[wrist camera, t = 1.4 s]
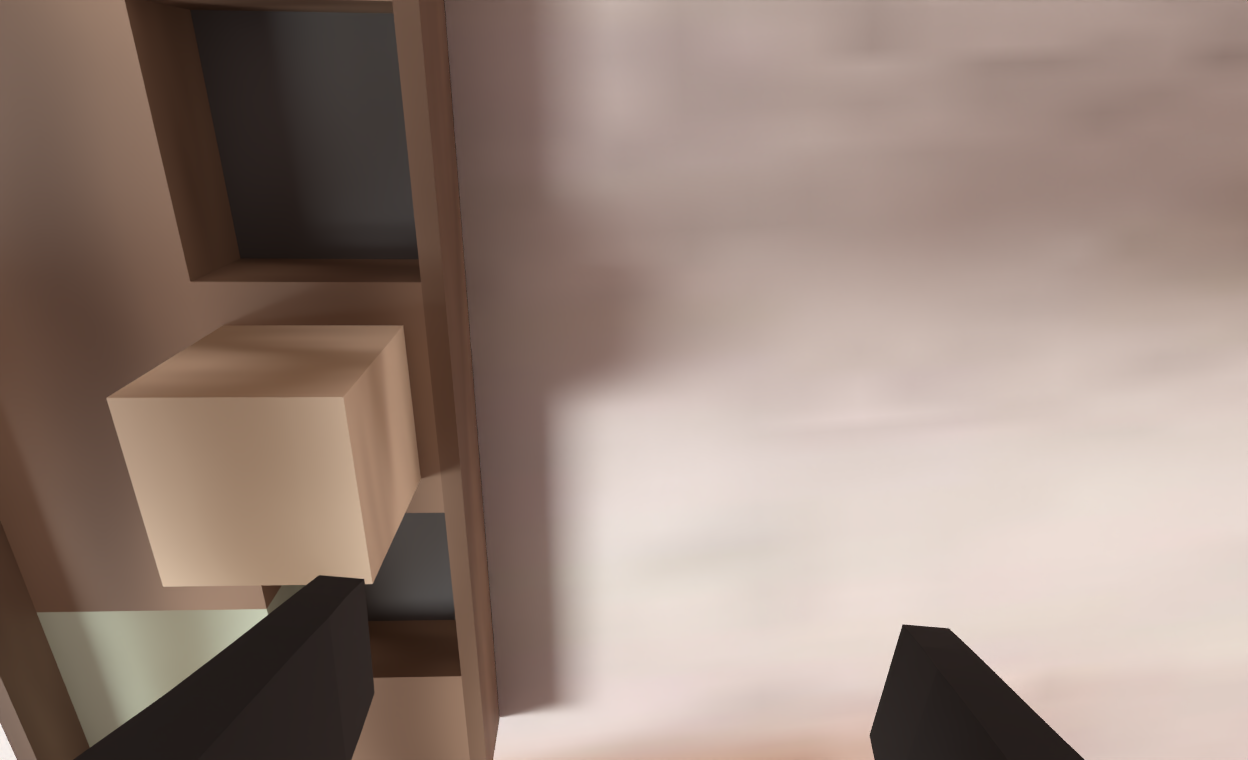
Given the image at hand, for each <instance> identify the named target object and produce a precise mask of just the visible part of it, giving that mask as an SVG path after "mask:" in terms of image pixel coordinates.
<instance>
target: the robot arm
mask: <svg viewBox="0 0 1248 760" xmlns="http://www.w3.org/2000/svg"><path fill="white" fill-rule="evenodd" d="M374 693H375V692H374V681H373V670H372V659H371V648H370V637H369V626H368V614H367V603H366V592H365V581H364V579H360V578H348V577H336V576H324V575H319V576H317V577H316V578H315V579H313V580H312V581H311V582H309V583H308V584H307V585H305V586H304V587H303V588H302V589H300V590H299V591H298V592H296V593H295V594H294V595H293V596H291V597H290V598H289V599H287V600H286V601H285V602H284V603H282V604H281V605H280V606H279V607H277V608H276V609H275V610H273V611H272V612H271V613H270V614H268V615H267V616H266V617H265V618H263V619H262V620H261V621H259V622H258V623H257V624H256V625H254V626H253V627H252V628H251V629H249V630H248V631H247V632H245V633H244V634H243V635H242V636H240V637H239V638H238V639H237V640H235V641H234V642H233V643H231V644H230V645H229V646H228V647H226V648H225V649H224V650H223V651H221V652H220V653H219V654H217V655H216V656H215V657H213V658H212V659H211V660H209V661H208V662H207V663H205V664H204V665H203V666H202V667H200V668H199V669H198V670H196V671H195V672H194V673H192V674H191V675H190V676H188V677H187V678H186V679H184V680H183V681H182V682H181V683H179V684H178V685H177V686H175V687H174V688H173V689H171V690H170V691H169V692H167V693H166V694H165V695H163V696H162V697H161V698H159V699H158V700H156V701H155V702H154V703H152V704H151V705H149V706H148V707H146V708H145V709H144V710H142V711H141V712H139V713H138V714H137V715H135V716H134V717H132V718H131V719H130V720H128V721H127V722H125V723H124V724H123V725H121V726H120V727H118V728H117V729H115V730H114V731H113V732H111V733H110V734H108V735H107V736H106V737H104V738H103V739H101V740H100V741H99V742H97V743H96V744H94V745H93V746H92V747H90V748H89V749H87V750H86V751H84V752H83V753H82V754H80V755H79V756H77V757H76V758H75V759H73V760H351V759H352V757H353V754H354V751H355V748H356V746H357V743H358V740H359V737H360V735H361V732H362V729H363V726H364V723H365V720H366V717H367V714H368V711H369V708H370V705H371V702H372V699H373V696H374ZM870 739H871V744H872V749H873V754H874V759H875V760H1084V759H1083V758H1082V757H1081V756H1080V755H1079V754H1078V753H1077V752H1076V751H1075V750H1074V749H1073V748H1072V747H1071V746H1070V745H1069V744H1067V743H1066V742H1065V741H1064V740H1063V739H1062V738H1061V737H1060V736H1059V735H1058V734H1057V733H1056V732H1055V731H1054V730H1053V729H1052V728H1051V727H1050V726H1049V725H1048V724H1047V723H1046V722H1045V721H1044V720H1043V719H1042V718H1041V717H1040V716H1039V715H1038V714H1037V713H1035V712H1034V711H1033V710H1032V709H1031V708H1030V707H1029V706H1028V705H1027V704H1026V703H1025V702H1024V701H1023V700H1022V699H1021V698H1020V697H1019V696H1018V695H1017V694H1016V693H1015V692H1014V691H1013V690H1012V689H1011V688H1010V687H1009V686H1008V685H1007V684H1006V683H1005V682H1004V681H1003V680H1002V679H1001V678H1000V677H999V676H998V675H997V674H996V673H995V672H994V671H993V670H992V669H991V668H990V667H989V666H988V665H987V664H986V663H985V662H984V661H983V660H982V659H980V658H979V657H978V656H977V655H976V654H975V653H974V652H973V651H972V650H971V649H970V648H969V647H968V646H967V645H966V644H965V643H964V642H963V641H962V640H961V639H960V638H958V637H957V636H956V635H955V634H954V633H953V632H952V631H951V630H950V629H949V628H937V627H925V626H914V625H902V629H901V632H900V635H899V639H898V642H897V645H896V649H895V652H894V655H893V659H892V662H891V666H890V669H889V672H888V676H887V679H886V682H885V686H884V689H883V692H882V696H881V699H880V702H879V706H878V709H877V712H876V716H875V719H874V722H873V726H872V729H871V733H870Z"/></svg>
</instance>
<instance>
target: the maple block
mask: <svg viewBox="0 0 1248 760" xmlns="http://www.w3.org/2000/svg"><path fill="white" fill-rule="evenodd" d="M106 399H107V402H108V405H109V409H110V412H111V415H112V419H113V422H114V425H115V429H116V432H117V435H118V439H119V442H120V445H121V448H122V452H123V455H124V458H125V462H126V465H127V468H128V472H129V475H130V478H131V482H132V485H133V488H134V492H135V495H136V498H137V502H138V505H139V508H140V512H141V515H142V518H143V522H144V525H145V528H146V532H147V535H148V538H149V542H150V545H151V548H152V551H153V555H154V558H155V561H156V565H157V568H158V571H159V575H160V578H161V581H162V585H163V587H182V586H259V585H307V584H308V583H309V582H311V581H312V580H313V579H315V578H316V577H317V576H319V575H324V576H336V577H348V578H360V579H364V581H365V584H373V582H374V580H375V578H376V576H377V573H378V571H379V569H380V567H381V565H382V562H383V560H384V558H385V556H386V554H387V552H388V549H389V547H390V545H391V543H392V541H393V538H394V536H395V534H396V532H397V530H398V527H399V525H400V523H401V521H402V519H403V517H404V514H405V512H406V510H407V508H408V506H409V503H410V501H411V499H412V497H413V495H414V493H415V490H416V488H417V486H418V484H419V482H420V479H421V475H420V467H419V458H418V449H417V441H416V432H415V423H414V415H413V406H412V397H411V389H410V380H409V371H408V363H407V354H406V345H405V337H404V328H403V326H397V325H223V326H221V327H220V328H218V329H216V330H215V331H213V332H212V333H210V334H208V335H207V336H205V337H204V338H202V339H200V340H199V341H197V342H195V343H194V344H192V345H191V346H189V347H187V348H186V349H184V350H183V351H181V352H179V353H178V354H176V355H175V356H173V357H171V358H170V359H168V360H166V361H165V362H163V363H162V364H160V365H158V366H157V367H155V368H154V369H152V370H150V371H149V372H147V373H145V374H144V375H142V376H141V377H139V378H137V379H136V380H134V381H133V382H131V383H129V384H128V385H126V386H125V387H123V388H121V389H120V390H118V391H116V392H115V393H113V394H112V395H110V396H108V397H107V398H106Z"/></svg>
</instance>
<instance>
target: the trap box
mask: <svg viewBox="0 0 1248 760" xmlns="http://www.w3.org/2000/svg"><path fill="white" fill-rule="evenodd" d="M223 325H397V326H403V328H404V337H405V345H406V354H407V363H408V371H409V380H410V389H411V397H412V406H413V415H414V423H415V432H416V441H417V449H418V458H419V467H420V475H421V479H420V482H419V484H418V486H417V488H416V490H415V493H414V495H413V497H412V499H411V501H410V503H409V506H408V508H407V510H406V512H405V514H404V517H403V519H402V521H401V523H400V525H399V527H398V530H397V532H396V534H395V536H394V538H393V541H392V543H391V545H390V547H389V549H388V552H387V554H386V556H385V558H384V560H383V562H382V565H381V567H380V569H379V571H378V573H377V576H376V578H375V580H374V582H373V584H365V592H366V603H367V614H368V626H369V637H370V648H371V659H372V670H373V681H374V692H375V693H374V696H373V699H372V702H371V705H370V708H369V711H368V714H367V717H366V720H365V723H364V726H363V729H362V732H361V735H360V737H359V740H358V743H357V746H356V748H355V751H354V754H353V757H352V759H351V760H493V756H494V750H495V743H496V737H497V731H498V724H499V707H498V694H497V681H496V668H495V655H494V642H493V629H492V616H491V603H490V590H489V577H488V564H487V551H486V538H485V525H484V512H483V499H482V486H481V473H480V460H479V447H478V434H477V421H476V408H475V395H474V382H473V369H472V356H471V343H470V330H469V317H468V304H467V291H466V278H465V265H464V252H463V239H462V226H461V213H460V200H459V187H458V174H457V161H456V148H455V135H454V122H453V109H452V96H451V83H450V70H449V57H448V44H447V31H446V18H445V5H444V0H0V723H1V725H2V727H3V730H4V732H5V734H6V736H7V738H8V741H9V743H10V745H11V747H12V749H13V752H14V754H15V756H16V758H17V760H73V759H75V758H76V757H77V756H79V755H80V754H82V753H83V752H84V751H86V750H87V749H89V748H90V747H92V746H93V745H94V744H96V743H97V742H99V741H100V740H101V739H103V738H104V737H106V736H107V735H108V734H110V733H111V732H113V731H114V730H115V729H117V728H118V727H120V726H121V725H123V724H124V723H125V722H127V721H128V720H130V719H131V718H132V717H134V716H135V715H137V714H138V713H139V712H141V711H142V710H144V709H145V708H146V707H148V706H149V705H151V704H152V703H154V702H155V701H156V700H158V699H159V698H161V697H162V696H163V695H165V694H166V693H167V692H169V691H170V690H171V689H173V688H174V687H175V686H177V685H178V684H179V683H181V682H182V681H183V680H184V679H186V678H187V677H188V676H190V675H191V674H192V673H194V672H195V671H196V670H198V669H199V668H200V667H202V666H203V665H204V664H205V663H207V662H208V661H209V660H211V659H212V658H213V657H215V656H216V655H217V654H219V653H220V652H221V651H223V650H224V649H225V648H226V647H228V646H229V645H230V644H231V643H233V642H234V641H235V640H237V639H238V638H239V637H240V636H242V635H243V634H244V633H245V632H247V631H248V630H249V629H251V628H252V627H253V626H254V625H256V624H257V623H258V622H259V621H261V620H262V619H263V618H265V617H266V616H267V615H268V614H270V613H271V612H272V611H273V610H275V609H276V608H277V607H279V606H280V605H281V604H282V603H284V602H285V601H286V600H287V599H289V598H290V597H291V596H293V595H294V594H295V593H296V592H298V591H299V590H300V589H302V588H303V587H304V586H305V585H259V586H182V587H163V585H162V581H161V578H160V575H159V571H158V568H157V565H156V561H155V558H154V555H153V551H152V548H151V545H150V542H149V538H148V535H147V532H146V528H145V525H144V522H143V518H142V515H141V512H140V508H139V505H138V502H137V498H136V495H135V492H134V488H133V485H132V482H131V478H130V475H129V472H128V468H127V465H126V462H125V458H124V455H123V452H122V448H121V445H120V442H119V439H118V435H117V432H116V429H115V425H114V422H113V419H112V415H111V412H110V409H109V405H108V402H107V399H106V398H107V397H108V396H110V395H112V394H113V393H115V392H116V391H118V390H120V389H121V388H123V387H125V386H126V385H128V384H129V383H131V382H133V381H134V380H136V379H137V378H139V377H141V376H142V375H144V374H145V373H147V372H149V371H150V370H152V369H154V368H155V367H157V366H158V365H160V364H162V363H163V362H165V361H166V360H168V359H170V358H171V357H173V356H175V355H176V354H178V353H179V352H181V351H183V350H184V349H186V348H187V347H189V346H191V345H192V344H194V343H195V342H197V341H199V340H200V339H202V338H204V337H205V336H207V335H208V334H210V333H212V332H213V331H215V330H216V329H218V328H220V327H221V326H223Z"/></svg>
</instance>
